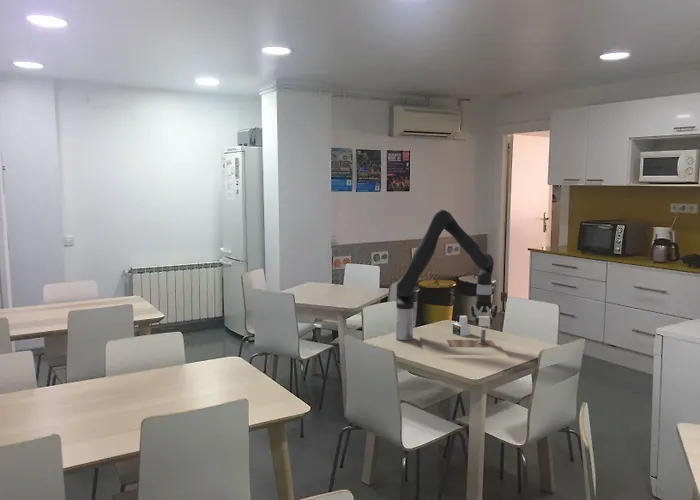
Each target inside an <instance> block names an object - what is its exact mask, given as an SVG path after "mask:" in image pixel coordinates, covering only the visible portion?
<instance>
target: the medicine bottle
mask: <svg viewBox="0 0 700 500" xmlns="http://www.w3.org/2000/svg"><path fill="white" fill-rule="evenodd" d="M455 319H456V321H455V322H454V323H452V334H453V335H457V336H459V337H462V336H471V328H472V327H471V324H469V323H468V315H464V314H457V315H456V317H455Z"/></svg>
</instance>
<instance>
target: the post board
mask: <svg viewBox="0 0 700 500" xmlns="http://www.w3.org/2000/svg"><path fill="white" fill-rule="evenodd" d="M446 342H447V344H448V346H449V347H450V348H490V349H491V348H498V346H497V345H496V344H495V343H494V341H493V340H491V339H490V340H489V339H486V329H481V330H480V339H446Z"/></svg>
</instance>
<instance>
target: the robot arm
mask: <svg viewBox="0 0 700 500" xmlns="http://www.w3.org/2000/svg"><path fill="white" fill-rule="evenodd" d="M444 230H445V231H446V232H448V233H449V234H450V235H451V236H452V237H453V239H454V240H455V241H456V242H457V243H458V245H459V246H460V247H461V249H462V250H464V252H465V253H466V254H467V255H469V257H470V258H471V260H472V262H473V263H474V264H475V266H477V267H478V268H480V270H479V273H478V274H477V283H476V291H475V292H476V303H475V304H470V311H471V316H472V318H475V320H474V323H475V324H476V326H479V325H478V322H479V318H478V317H479V316H481V313H487V316H488V317H489V318H490V326H491V325H492V324H493V322H492V321H493V318H496V316H497V311H498V305H496V304H492V294H493V293H492V292H493V291H492V290H493V288H492V287H493V286H492V274H493V270H494V265H495V264H494V262H495V261H494V258H493V256H492V255H491V254H489V253H485V254H484V253H483V252H482V250H481V247H480V245H479V244H478V243H477V242H476V240H474V239H473V238H472V237H471V236H470V235H469V234H468V233H467V232H465V231H464V230H463V228H462V227H461V226H460V225H459V223H457V221H456V219H455V218H454V216H453V215H452V213H451V212H449V211H447V210H444V209H440V210H437V211H436V212H435V213H434V214H433V216H432V219H431V221H430V223H429V226H428V228H427V230H426V232H425V234H424V236H423V237H422V239H421V241H420V243H419V244H418V245H417V247H416V250H415V251H414V253H413V254H412V255H413V256H412V257H411V260H410V263H409V265H408V267H407V270H406V271H405V273H404V275H403V276H402V277H401V278H400V279H399V280H398V281H397V283H396V305H395V306H396V312H395V314H396V315H395V316H396V320H395V339H396V340H397V341H398V340H399V341H412V340H413V339H414V289H415V287H416V284H417V282H418V280H419V278H420V276H421V275H422V273H423V272H424V270H425V269H426V267H427V266H428V264H429V263H430V262H431V259H432V258H433V255H434V253H435V251H436V248H437V245H438V241H439V237H441V234H442V233H443V231H444ZM475 309H477V310H476V313H475ZM491 309H493V311H492V313H491Z"/></svg>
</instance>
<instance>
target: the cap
mask: <svg viewBox="0 0 700 500" xmlns="http://www.w3.org/2000/svg"><path fill="white" fill-rule="evenodd" d="M478 318H479V322H478V325H477V326H478V327H491V325H490V318H489V315H479V317H478Z"/></svg>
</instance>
